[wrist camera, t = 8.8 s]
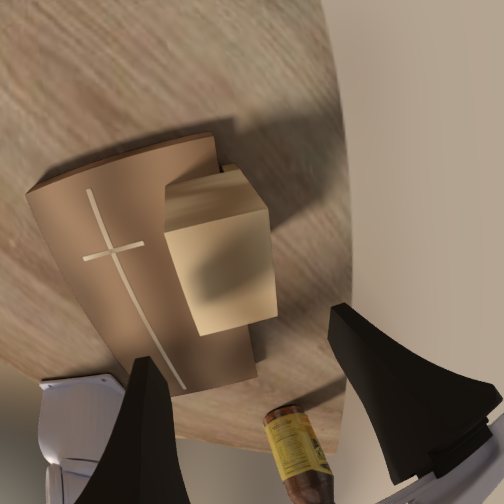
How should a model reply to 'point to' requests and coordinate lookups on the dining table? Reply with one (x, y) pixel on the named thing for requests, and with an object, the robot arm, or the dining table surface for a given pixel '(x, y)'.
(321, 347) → the dining table surface
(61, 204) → the walnut board
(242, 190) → the light wooden block
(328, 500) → the sauce bottle
